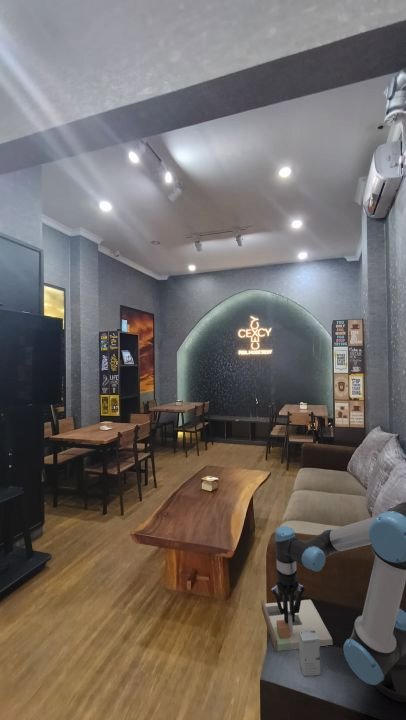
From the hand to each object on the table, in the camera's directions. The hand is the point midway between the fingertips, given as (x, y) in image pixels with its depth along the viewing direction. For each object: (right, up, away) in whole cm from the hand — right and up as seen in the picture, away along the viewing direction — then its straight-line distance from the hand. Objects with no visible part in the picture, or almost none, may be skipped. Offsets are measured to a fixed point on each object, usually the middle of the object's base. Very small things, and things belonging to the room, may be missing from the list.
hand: (289, 630), depth 133 cm
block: (-3, -1, 0) cm, 3 cm away
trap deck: (+4, -4, +7) cm, 9 cm away
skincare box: (+4, -4, -13) cm, 14 cm away
